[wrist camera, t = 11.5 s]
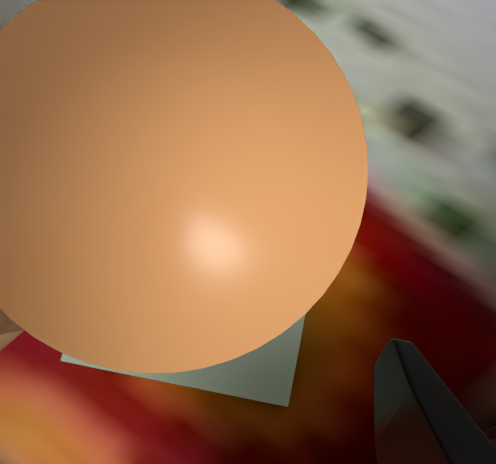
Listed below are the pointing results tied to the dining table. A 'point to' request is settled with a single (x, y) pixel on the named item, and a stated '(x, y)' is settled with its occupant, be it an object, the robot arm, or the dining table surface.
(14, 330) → the socket block
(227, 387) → the mat
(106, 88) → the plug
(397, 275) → the dining table surface
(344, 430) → the dining table surface
